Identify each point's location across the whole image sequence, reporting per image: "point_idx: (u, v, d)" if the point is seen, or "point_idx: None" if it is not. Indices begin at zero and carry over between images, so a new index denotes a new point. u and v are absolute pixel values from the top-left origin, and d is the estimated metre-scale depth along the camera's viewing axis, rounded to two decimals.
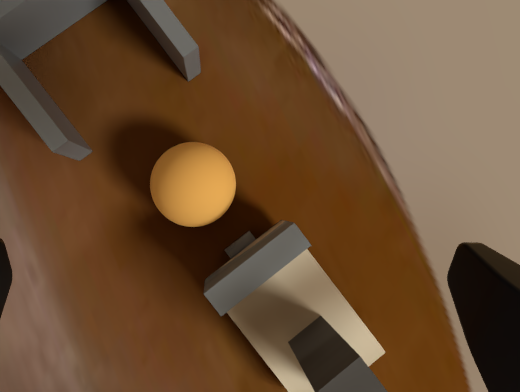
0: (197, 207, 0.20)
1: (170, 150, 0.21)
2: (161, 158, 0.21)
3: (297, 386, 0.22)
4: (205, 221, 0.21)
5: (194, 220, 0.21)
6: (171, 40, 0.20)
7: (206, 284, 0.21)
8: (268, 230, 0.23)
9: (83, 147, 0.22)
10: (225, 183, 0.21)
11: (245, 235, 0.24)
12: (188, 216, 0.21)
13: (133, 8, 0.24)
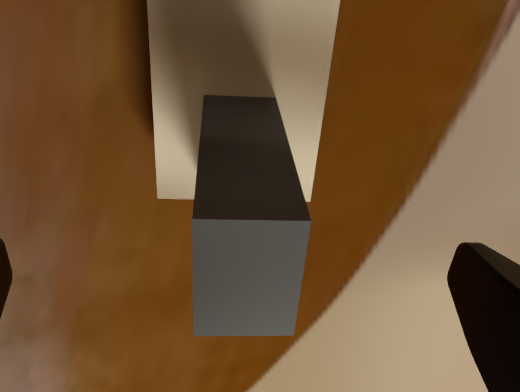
0: None
1: None
2: None
3: (171, 157, 0.14)
4: None
5: None
6: None
7: None
8: None
9: None
10: None
11: None
12: None
13: None
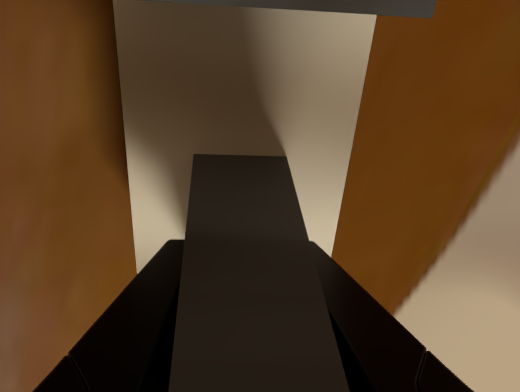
0: None
1: None
2: None
3: (153, 228, 0.11)
4: None
5: None
6: None
7: None
8: None
9: None
10: None
11: None
12: None
13: None
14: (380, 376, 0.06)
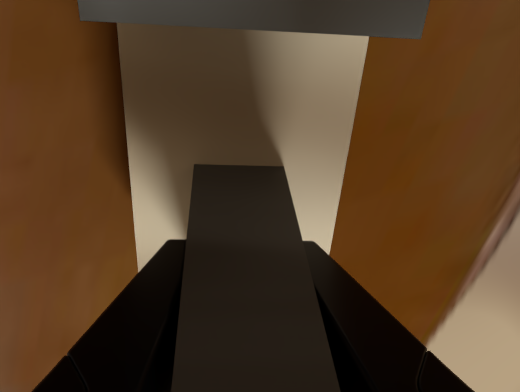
0: None
1: None
2: None
3: (154, 235, 0.11)
4: None
5: None
6: None
7: None
8: None
9: None
10: None
11: None
12: None
13: None
14: (381, 376, 0.06)
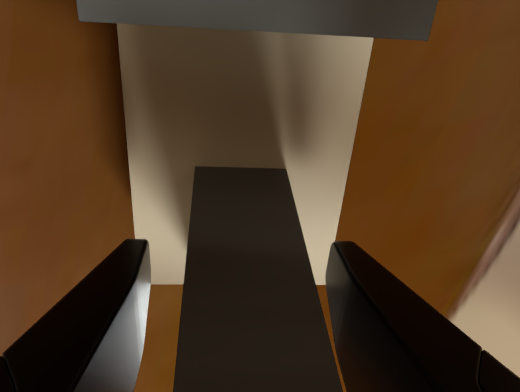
0: None
1: None
2: None
3: (155, 238, 0.11)
4: None
5: None
6: None
7: None
8: None
9: None
10: None
11: None
12: None
13: None
14: (442, 375, 0.06)
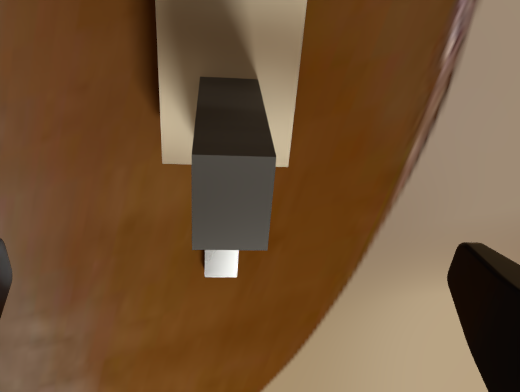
0: None
1: None
2: None
3: (173, 128, 0.17)
4: None
5: None
6: None
7: None
8: None
9: None
10: None
11: None
12: None
13: None
14: None
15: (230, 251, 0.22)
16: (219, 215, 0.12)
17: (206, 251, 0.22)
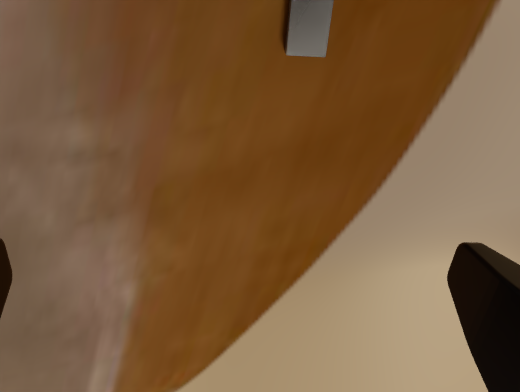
0: None
1: None
2: None
3: None
4: None
5: None
6: None
7: None
8: None
9: None
10: None
11: None
12: None
13: None
14: None
15: (321, 14, 0.18)
16: None
17: (292, 13, 0.18)
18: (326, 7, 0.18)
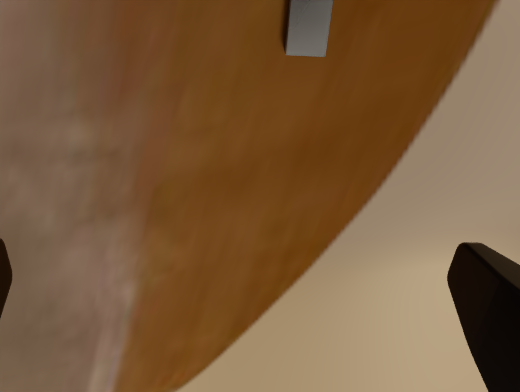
0: None
1: None
2: None
3: None
4: None
5: None
6: None
7: None
8: None
9: None
10: None
11: None
12: None
13: None
14: None
15: (321, 14, 0.18)
16: None
17: (291, 12, 0.18)
18: (326, 7, 0.18)
